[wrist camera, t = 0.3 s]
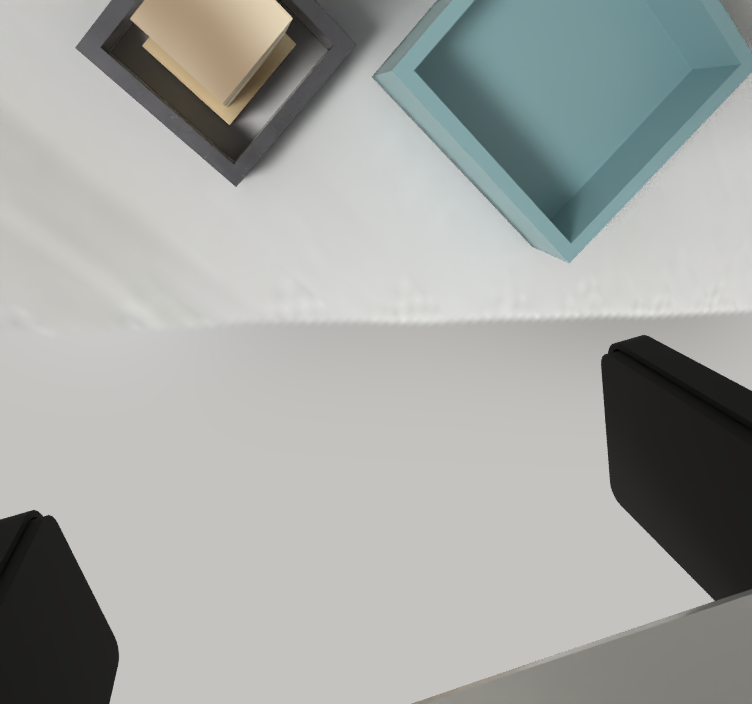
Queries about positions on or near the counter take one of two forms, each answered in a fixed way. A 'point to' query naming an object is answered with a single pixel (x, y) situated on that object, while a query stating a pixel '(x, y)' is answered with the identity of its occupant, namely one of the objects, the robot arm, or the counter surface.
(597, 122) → the bin
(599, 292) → the counter surface
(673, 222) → the counter surface
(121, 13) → the collar
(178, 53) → the strut
